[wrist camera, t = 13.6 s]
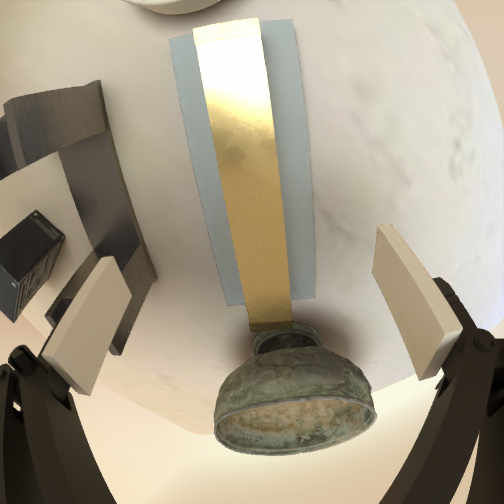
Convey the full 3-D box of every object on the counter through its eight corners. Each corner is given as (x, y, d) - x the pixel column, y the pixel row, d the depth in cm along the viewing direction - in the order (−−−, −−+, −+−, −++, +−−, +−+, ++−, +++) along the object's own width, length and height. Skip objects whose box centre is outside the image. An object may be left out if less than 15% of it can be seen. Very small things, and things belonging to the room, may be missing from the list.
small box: (34, 206, 28) (-16, 248, 19) (66, 235, 30) (21, 285, 22) (21, 253, 32) (-17, 296, 23) (49, 278, 35) (15, 325, 26)
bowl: (344, 372, 44) (358, 449, 31) (233, 379, 45) (227, 458, 32) (367, 287, 33) (405, 388, 21) (213, 296, 34) (193, 405, 22)
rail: (252, 297, 31) (251, 332, 27) (207, 41, 17) (192, 28, 13) (289, 294, 31) (293, 328, 26) (258, 33, 17) (258, 17, 13)
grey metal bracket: (112, 281, 34) (72, 353, 23) (51, 104, 21) (-33, 131, 11) (157, 277, 33) (123, 358, 23) (99, 80, 20) (10, 92, 10)
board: (229, 291, 34) (227, 305, 32) (177, 43, 19) (168, 39, 17) (312, 283, 33) (315, 297, 31) (289, 25, 18) (292, 19, 16)
